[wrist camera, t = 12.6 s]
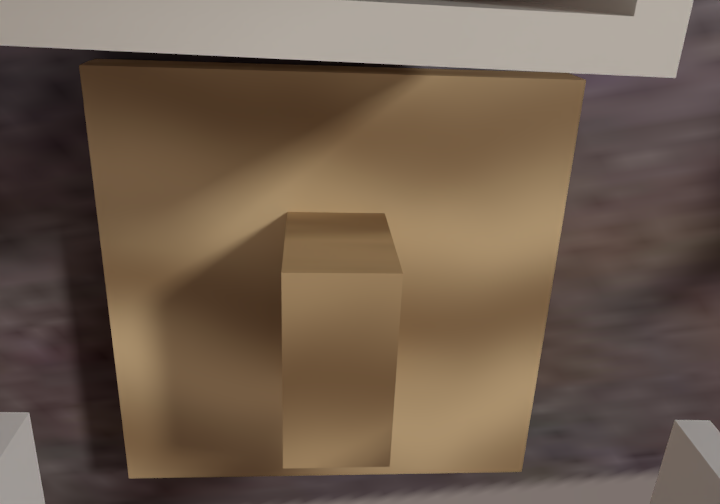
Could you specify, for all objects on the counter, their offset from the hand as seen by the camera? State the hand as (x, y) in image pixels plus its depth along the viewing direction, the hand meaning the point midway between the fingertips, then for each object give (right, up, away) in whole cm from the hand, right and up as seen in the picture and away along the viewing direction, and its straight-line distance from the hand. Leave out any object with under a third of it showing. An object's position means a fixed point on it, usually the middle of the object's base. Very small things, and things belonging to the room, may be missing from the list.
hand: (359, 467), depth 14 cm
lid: (-1, +3, +9) cm, 10 cm away
